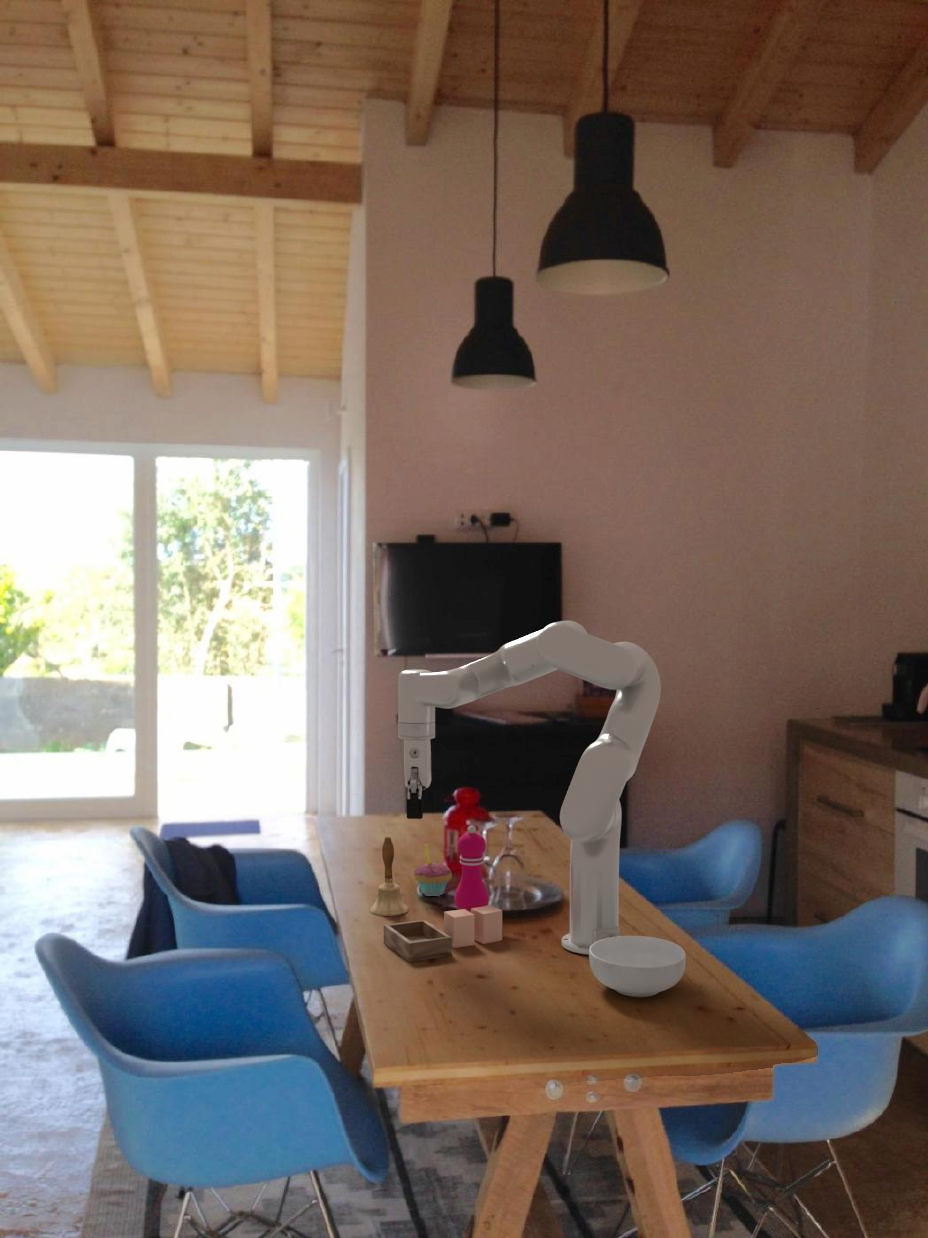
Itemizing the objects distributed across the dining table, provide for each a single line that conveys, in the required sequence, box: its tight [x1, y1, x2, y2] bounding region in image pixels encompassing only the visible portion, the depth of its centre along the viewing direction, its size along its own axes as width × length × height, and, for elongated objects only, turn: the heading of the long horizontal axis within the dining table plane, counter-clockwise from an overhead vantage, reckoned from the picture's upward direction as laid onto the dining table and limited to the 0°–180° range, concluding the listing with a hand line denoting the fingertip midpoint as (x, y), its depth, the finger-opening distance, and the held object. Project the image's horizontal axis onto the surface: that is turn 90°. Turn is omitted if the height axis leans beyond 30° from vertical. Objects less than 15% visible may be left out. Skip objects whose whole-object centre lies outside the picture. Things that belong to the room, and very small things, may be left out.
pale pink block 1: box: [443, 909, 475, 949], centre depth 236 cm, size 4×4×6 cm
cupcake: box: [413, 840, 453, 896], centre depth 272 cm, size 9×8×12 cm
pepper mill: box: [454, 825, 490, 912], centre depth 251 cm, size 7×7×20 cm
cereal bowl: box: [588, 935, 687, 998], centre depth 210 cm, size 17×17×7 cm
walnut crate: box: [383, 919, 453, 963], centre depth 232 cm, size 13×9×4 cm
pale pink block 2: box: [471, 904, 503, 945], centre depth 239 cm, size 4×4×6 cm
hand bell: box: [369, 836, 409, 917], centre depth 258 cm, size 8×8×16 cm
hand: (416, 813), depth 245 cm, fingers open, 9 cm apart
